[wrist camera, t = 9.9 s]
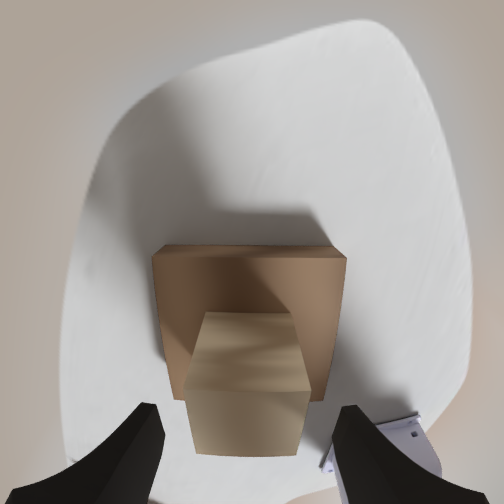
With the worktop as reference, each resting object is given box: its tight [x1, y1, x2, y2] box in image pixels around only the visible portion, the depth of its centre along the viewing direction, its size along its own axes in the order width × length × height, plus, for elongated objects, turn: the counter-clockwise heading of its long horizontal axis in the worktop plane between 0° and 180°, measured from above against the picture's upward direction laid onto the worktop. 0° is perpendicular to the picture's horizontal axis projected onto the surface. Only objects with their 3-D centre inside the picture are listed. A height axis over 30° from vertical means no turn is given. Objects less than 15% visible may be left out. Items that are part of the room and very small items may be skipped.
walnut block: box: [152, 245, 347, 402], centre depth 17 cm, size 10×10×3 cm
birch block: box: [183, 312, 311, 457], centre depth 12 cm, size 4×4×6 cm
